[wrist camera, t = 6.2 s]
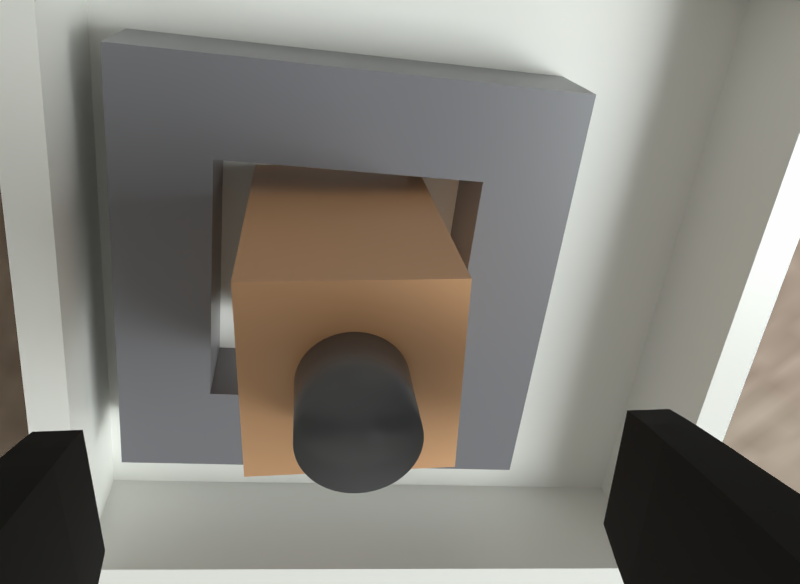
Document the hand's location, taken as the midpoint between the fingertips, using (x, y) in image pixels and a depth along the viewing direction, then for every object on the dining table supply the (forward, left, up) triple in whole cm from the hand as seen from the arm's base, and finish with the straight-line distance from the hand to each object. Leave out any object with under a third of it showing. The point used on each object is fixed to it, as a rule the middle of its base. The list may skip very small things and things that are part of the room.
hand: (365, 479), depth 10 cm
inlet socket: (0, 0, -8) cm, 8 cm away
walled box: (-1, 0, -8) cm, 9 cm away
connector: (0, 0, -8) cm, 8 cm away
